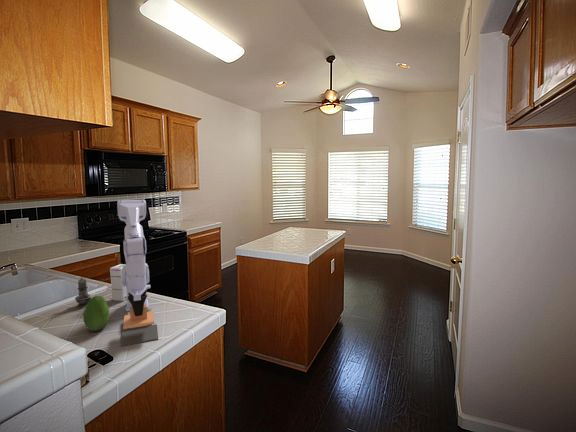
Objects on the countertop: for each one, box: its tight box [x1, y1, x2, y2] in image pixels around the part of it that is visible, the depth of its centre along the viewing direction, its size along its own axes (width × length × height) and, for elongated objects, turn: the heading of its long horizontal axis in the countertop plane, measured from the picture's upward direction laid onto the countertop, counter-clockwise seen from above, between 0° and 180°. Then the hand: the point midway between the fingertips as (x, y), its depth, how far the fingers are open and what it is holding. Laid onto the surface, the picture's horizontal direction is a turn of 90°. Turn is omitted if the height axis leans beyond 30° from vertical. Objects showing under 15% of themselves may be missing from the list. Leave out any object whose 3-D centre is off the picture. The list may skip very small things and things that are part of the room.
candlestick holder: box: [74, 276, 93, 309], centre depth 131 cm, size 6×6×12 cm
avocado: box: [82, 295, 111, 332], centre depth 111 cm, size 8×8×12 cm
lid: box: [122, 304, 155, 330], centre depth 107 cm, size 9×9×6 cm
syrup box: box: [109, 263, 127, 302], centre depth 139 cm, size 6×6×14 cm
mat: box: [120, 323, 159, 347], centre depth 108 cm, size 11×11×1 cm
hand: (138, 313), depth 107 cm, fingers closed on lid, 2 cm apart
